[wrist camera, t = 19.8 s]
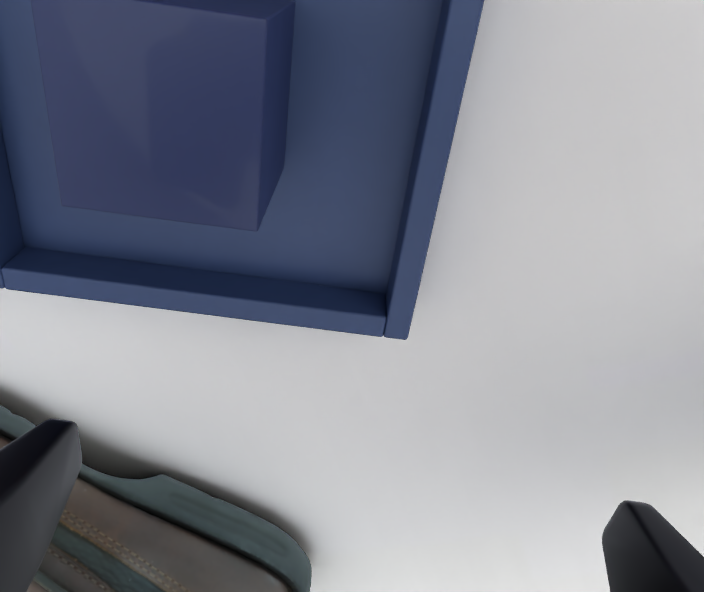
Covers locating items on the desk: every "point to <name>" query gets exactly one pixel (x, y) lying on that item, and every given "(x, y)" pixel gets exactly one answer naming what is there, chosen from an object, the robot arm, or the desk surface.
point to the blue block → (167, 105)
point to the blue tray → (290, 193)
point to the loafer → (160, 538)
